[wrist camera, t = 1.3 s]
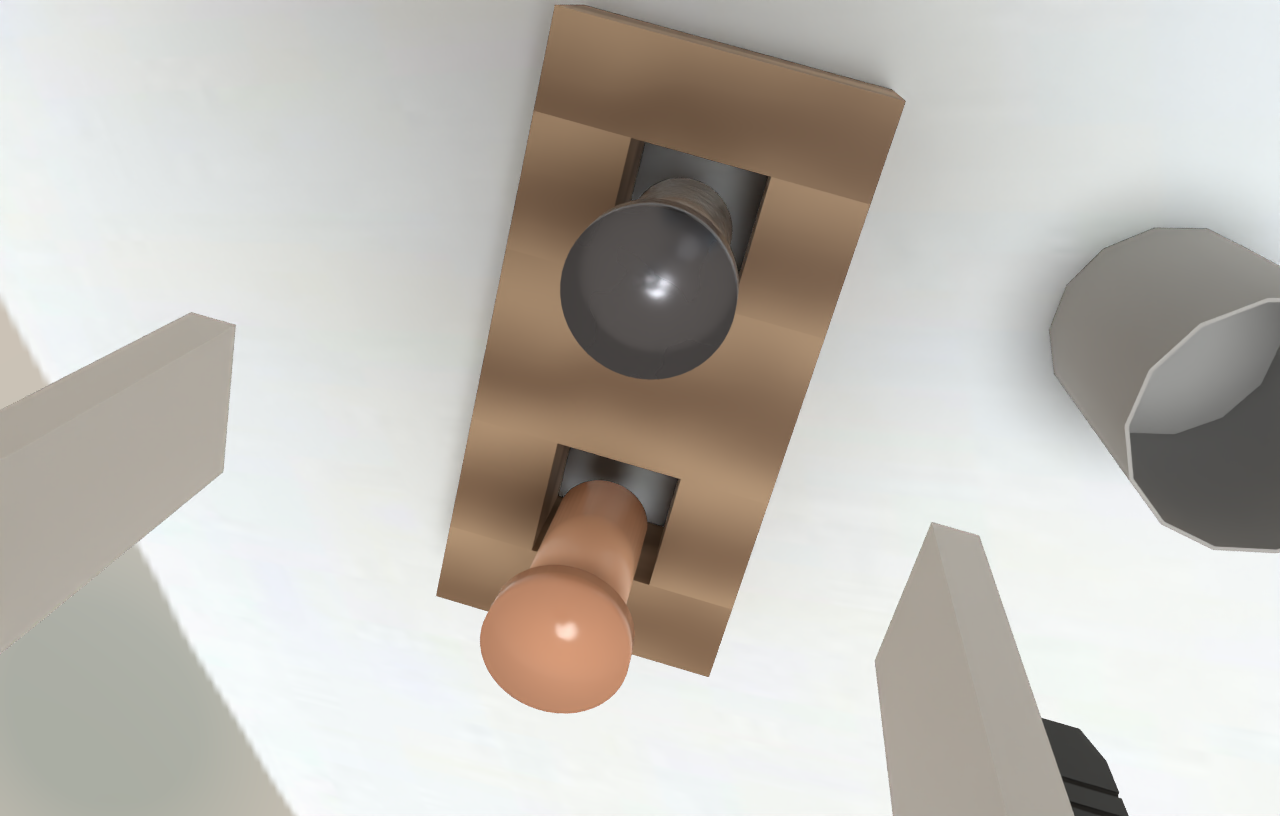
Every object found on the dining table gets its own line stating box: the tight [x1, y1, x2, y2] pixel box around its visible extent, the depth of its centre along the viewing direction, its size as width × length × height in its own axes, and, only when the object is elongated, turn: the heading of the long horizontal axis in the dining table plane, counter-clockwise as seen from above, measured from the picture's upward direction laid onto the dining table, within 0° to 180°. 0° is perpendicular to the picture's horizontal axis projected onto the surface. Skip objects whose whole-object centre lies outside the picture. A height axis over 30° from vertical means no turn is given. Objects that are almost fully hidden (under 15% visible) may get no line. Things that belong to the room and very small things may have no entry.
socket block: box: [436, 5, 906, 677], centre depth 40 cm, size 24×12×5 cm, turn 166°
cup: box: [1049, 228, 1280, 553], centre depth 35 cm, size 8×8×10 cm
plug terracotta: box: [480, 480, 647, 713], centre depth 36 cm, size 5×5×9 cm
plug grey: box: [560, 178, 739, 380], centre depth 31 cm, size 5×5×9 cm
